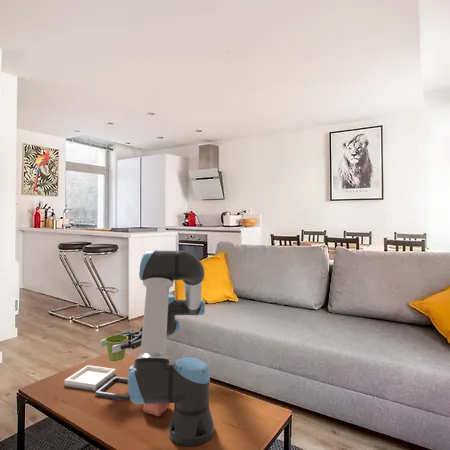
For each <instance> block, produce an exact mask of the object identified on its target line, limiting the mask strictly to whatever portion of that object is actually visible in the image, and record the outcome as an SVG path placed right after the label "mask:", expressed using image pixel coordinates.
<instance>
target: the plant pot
mask: <svg viewBox="0 0 450 450" xmlns="http://www.w3.org/2000/svg"><path fill="white" fill-rule="evenodd" d="M112 335H113V334H112ZM112 335H110V336H108V337H106V338H104V339H105V342H106V344H107V345H106V347H107V353H108V360H109V361H110V362H117V361H122V360H124V359H125V354H126V349H124V350H121V351H118V352H115V353H112V346H114V345H117V344H120V343H123V342H127V343H128V336H126V335H113V336H112Z"/></svg>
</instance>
